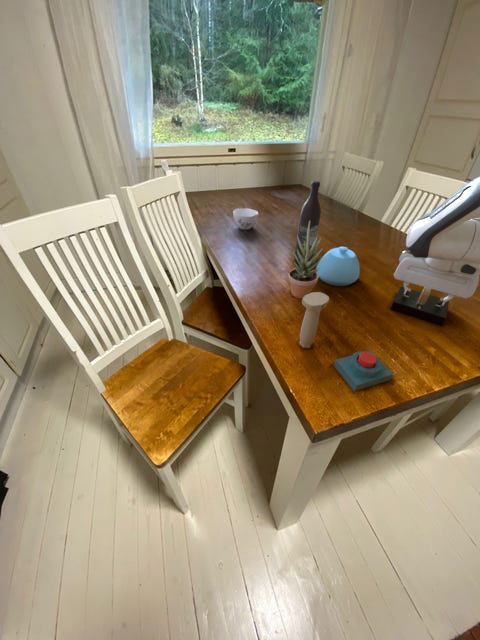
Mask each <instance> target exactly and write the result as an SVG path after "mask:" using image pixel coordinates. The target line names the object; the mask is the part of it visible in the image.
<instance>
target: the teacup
mask: <svg viewBox="0 0 480 640" xmlns="http://www.w3.org/2000/svg"><path fill="white" fill-rule="evenodd" d="M232 216H233V221H234V222H235V224H236V226H237V227H238V228H239V229H241V230H251V228H252V227H253V226H254V225H255V224H256V222H257V220H258V217H259V212H258V210H256V209H252V208H241V207H240V208H235V209H234V210H233V211H232Z"/></svg>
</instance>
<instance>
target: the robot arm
mask: <svg viewBox="0 0 480 640" xmlns="http://www.w3.org/2000/svg"><path fill="white" fill-rule="evenodd" d="M405 247H406V249H407V250H404V251H402V252H401V254H400V256H399V258H398V261H399V264H398V265H397V267H396V270H395V271H394V273H393V277H394V279H395V280H398V281H402V282H403V287H404V288H405V291H404V295H409V293H410V291H411V290H412V288H410V287H409V286H410V284H412V285H414V286H415V285H416V286H419V287H422V288H424V287H426V288H430V289H431V290H434V291H436V292H440V293H444V294H447V296H444V297H439V298H440V300H439V301H438V305H441V306H443V305H444V304H445V302H447V301H449V302H450V301H451V300H452V299H454V297H458V298H463V299H464V300H465V299H467V300H468V299H470V298H472V297H473V295H474V294H475V292H476V290H477V288H478V285H479V281H480V174H479V175H477V176H476V177H474V178H473V179H471V180H470V181H469V182H467V183H466V184H465V185H463V186H462V187H461V188H460V189H458V190H457V191H455V193H453V194H451V196H449V197H448V198H447V199H445V200H444V201H443V202H441V203H440V204H439V205H438V206H437V207H435V208H434V209H433V210H432V211H430V212H428V213H426V214H424V215H422V216H420V217H419V218H418V219H416V220H415V221H414V222H413V223H412V225H411V226H410V228H409V230H408V232H407V235H406V238H405Z"/></svg>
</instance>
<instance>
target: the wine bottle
mask: <svg viewBox="0 0 480 640" xmlns="http://www.w3.org/2000/svg"><path fill="white" fill-rule="evenodd" d="M310 184H311V185H310V193H309V196H308V198H307V199H306V201H305V202H304V204H303V205H302V208H301V210H300V214H299V222H298V229H297V236H298V237H299V240H300V242H301V244H302V246H303V248H304V242H305V241H306V244H307V231H308V224H309V221H310V239H311V243H310V249H311V247H312V245H313V244H314V241H315V240H316V238H317V236H318V231H319V227H320V226H319V225H320V220H321V213H322V208H321V204H320V201H319V188H320V187H321V181H319V180H312V181H311V182H310ZM297 236H296V237H297ZM295 242H296V243H295V249H294V252H295V254H296V256H297V258H298V259H299V257H298V254H297V249H298V250H299V252H300V254H301V255H302V256H303V254H302V252H301V249H300V246H299V243H298V239H297V238H296V241H295ZM299 261H300V259H299ZM294 262H295V263H296V264H297V265H298V266H299V267H300V265H299V263H298V261H297V260H296V258H295V256H294V255H293V264H294V265H295V263H294ZM300 262H301V261H300Z"/></svg>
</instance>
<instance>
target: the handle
mask: <svg viewBox="0 0 480 640" xmlns="http://www.w3.org/2000/svg"><path fill="white" fill-rule="evenodd" d="M329 301H330V297H329V296H328V295H327V294H326V293H323V292H321V291H317V292H316V291H314V292H311V293H309V294H307V295H305V296H304V297H303V298H301V304H302V306H303V307H304V308H306V309H305V312H304V316H303V320H302V323H301V327H300V332H299V346H300V347H302V349H310V348H311V347H312V344H313V343H314V340H315V339H316V335H317V331H318V328H319V327H318V326H319V319H320V315H321V311H322V310H323V309H325V308H326V307H327V305H328V303H329Z"/></svg>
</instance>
